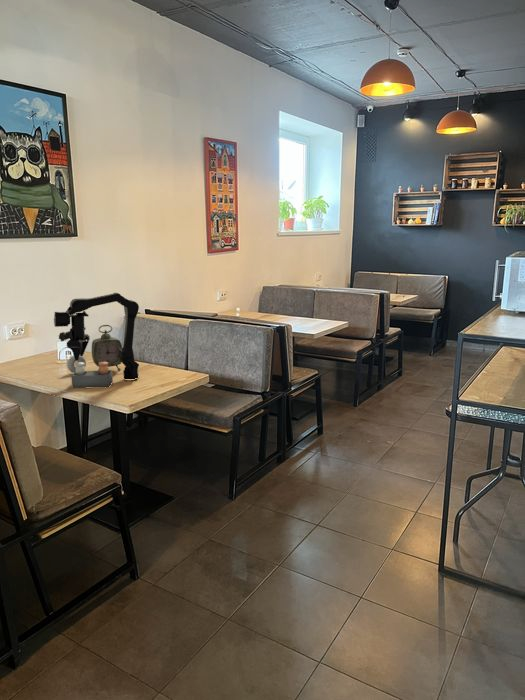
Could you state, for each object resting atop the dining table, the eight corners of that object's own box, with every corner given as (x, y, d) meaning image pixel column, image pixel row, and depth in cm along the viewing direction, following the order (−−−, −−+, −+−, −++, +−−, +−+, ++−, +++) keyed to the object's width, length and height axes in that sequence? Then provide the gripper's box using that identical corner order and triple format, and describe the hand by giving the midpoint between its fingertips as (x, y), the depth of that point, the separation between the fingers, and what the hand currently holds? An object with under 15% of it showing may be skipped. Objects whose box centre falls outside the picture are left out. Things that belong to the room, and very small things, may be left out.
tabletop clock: (95, 374, 265) (92, 327, 260) (92, 370, 273) (89, 324, 268) (123, 371, 272) (121, 325, 267) (119, 367, 280) (117, 322, 275)
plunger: (86, 373, 247) (85, 362, 246) (84, 375, 243) (83, 364, 242) (76, 373, 247) (76, 362, 246) (74, 375, 243) (73, 364, 241)
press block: (112, 382, 252) (112, 370, 251) (109, 387, 243) (108, 375, 242) (77, 382, 250) (76, 371, 249) (72, 388, 241) (71, 375, 240)
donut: (70, 375, 263) (68, 356, 261) (66, 374, 266) (65, 355, 264) (87, 371, 271) (86, 353, 269) (84, 370, 273) (83, 352, 271)
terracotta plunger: (109, 372, 248) (108, 361, 247) (107, 375, 244) (107, 363, 243) (100, 373, 248) (99, 361, 247) (98, 375, 244) (97, 364, 242)
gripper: (65, 322, 249) (67, 353, 252) (54, 328, 230) (55, 362, 233) (89, 323, 250) (90, 354, 253) (79, 329, 232) (80, 362, 235)
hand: (79, 358), depth 243 cm, fingers open, 9 cm apart
